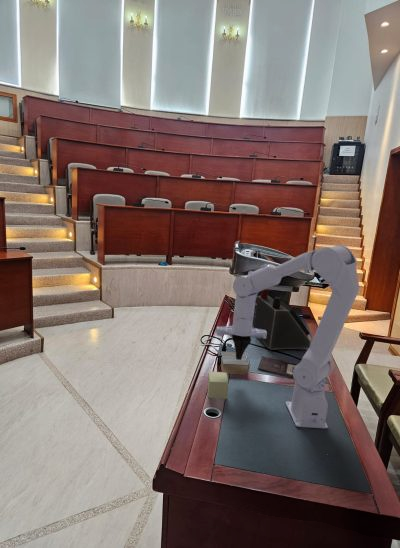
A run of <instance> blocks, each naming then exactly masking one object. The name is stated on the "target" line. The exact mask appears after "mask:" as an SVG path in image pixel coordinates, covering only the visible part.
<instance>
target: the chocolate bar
mask: <svg viewBox="0 0 400 548" xmlns="http://www.w3.org/2000/svg"><path fill="white" fill-rule="evenodd" d="M298 364H299V363H294V362H289V361H285V360H281V359H276V358H272V357H267V356H261V358H260V362H259V364H258V366H257V370H258V371H263V372H265V373H270V374H274V375H278V376H282V377H287V378H291V379H294V377H293V369H294V367H295V366H296V365H298Z"/></svg>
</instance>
